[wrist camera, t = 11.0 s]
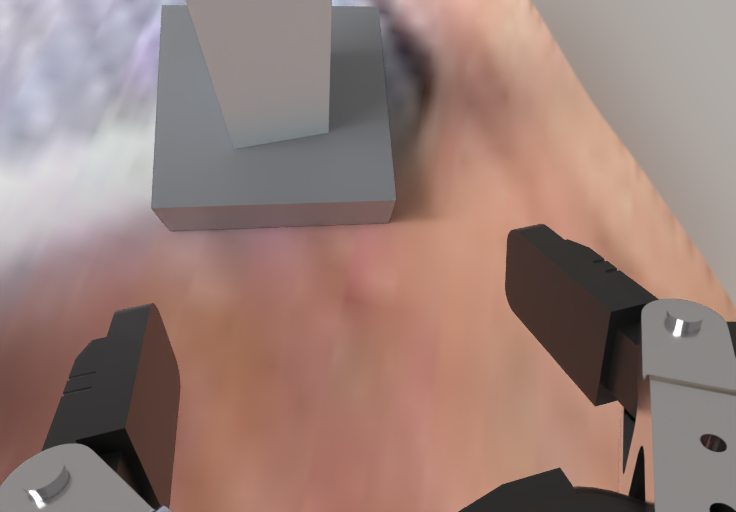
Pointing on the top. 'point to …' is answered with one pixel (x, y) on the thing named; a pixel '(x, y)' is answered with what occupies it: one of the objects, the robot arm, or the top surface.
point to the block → (267, 65)
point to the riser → (277, 159)
